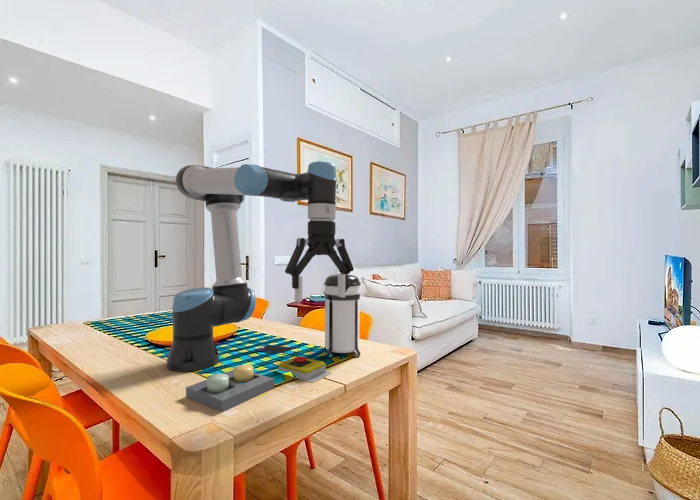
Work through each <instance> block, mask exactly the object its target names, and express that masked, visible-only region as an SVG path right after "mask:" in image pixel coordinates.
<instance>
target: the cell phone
mask: <svg viewBox="0 0 700 500" xmlns="http://www.w3.org/2000/svg"><path fill="white" fill-rule="evenodd" d="M296 348H297V347H293V346H292V347H291V346H283V345H282V346H281V345H272V344H265V345H263V346H261V347H259V348H256V349H255V352H258V351H259V352H260V353H266V352H272V353H271V354H275V353H283V352H284V353H285V351H286V350H287V351H288V350H289V351H290V350H291V349H296Z"/></svg>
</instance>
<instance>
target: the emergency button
mask: <svg viewBox="0 0 700 500" xmlns="http://www.w3.org/2000/svg"><path fill="white" fill-rule="evenodd" d="M278 370H280V371H285V372H291V373H293V374H294V375H295V376H296V377H297V380H301V381H304V382H308V383H316V382H317V381H320V380H322V379H323V378H325V377H327V376H329V375H331V374H332V372H331V371H329V370H326V362H324V361H320V360H316V359H312V358H307V357H305V356H304V357H303V356H295V357H292V358H290V359H287V360H284V361H281V362H279V363H278Z"/></svg>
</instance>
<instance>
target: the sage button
mask: <svg viewBox="0 0 700 500" xmlns="http://www.w3.org/2000/svg"><path fill="white" fill-rule="evenodd" d="M206 380H207V392H208V393H211V394H219V393H222V392H224V391H227V390H228V389H229V376H228V375H227V374H224V373H217V374H212V375H210V376H208V377H207V378H206Z"/></svg>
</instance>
